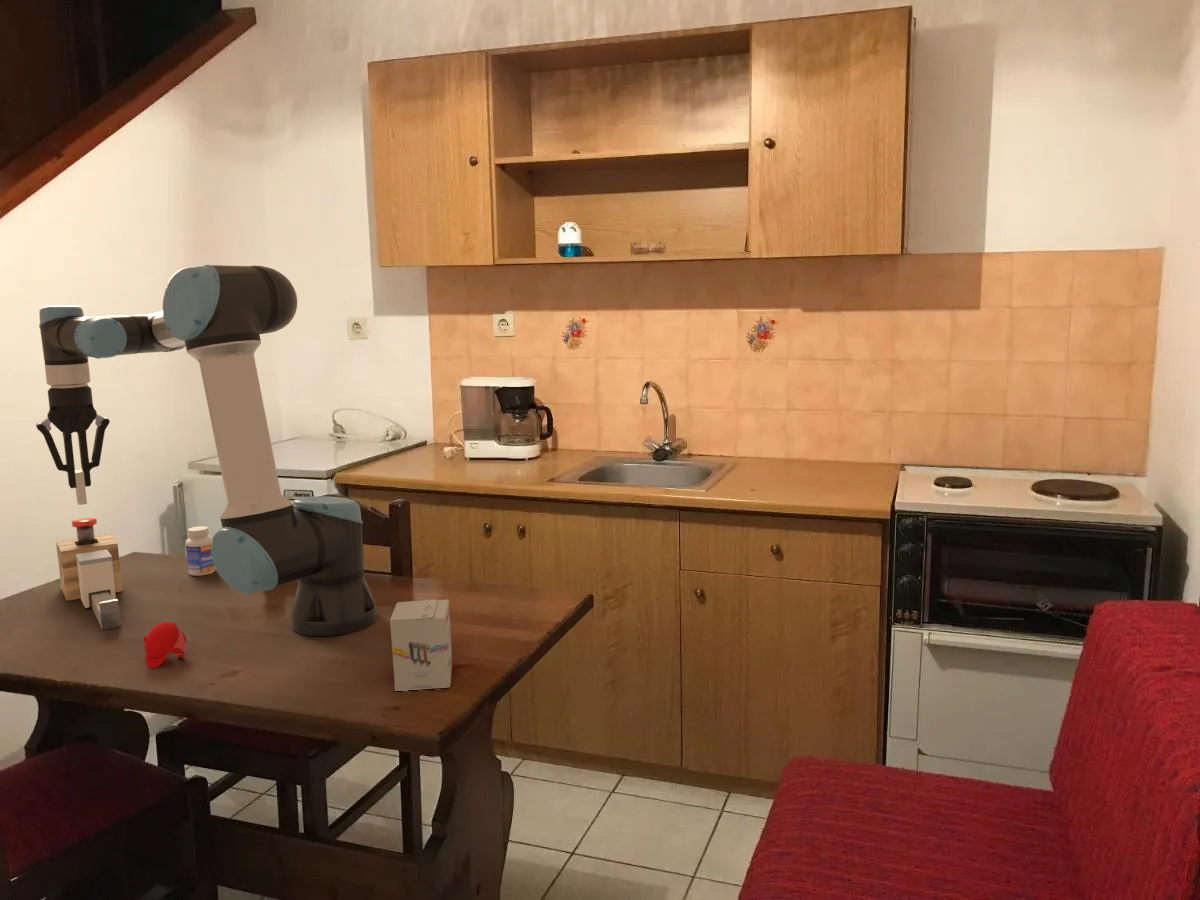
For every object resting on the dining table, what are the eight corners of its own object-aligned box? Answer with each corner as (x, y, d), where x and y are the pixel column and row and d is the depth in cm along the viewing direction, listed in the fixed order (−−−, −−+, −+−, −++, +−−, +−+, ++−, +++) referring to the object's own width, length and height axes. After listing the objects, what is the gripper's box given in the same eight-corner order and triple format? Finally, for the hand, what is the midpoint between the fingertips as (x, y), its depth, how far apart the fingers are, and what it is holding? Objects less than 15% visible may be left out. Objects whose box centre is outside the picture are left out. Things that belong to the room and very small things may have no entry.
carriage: (116, 602, 186) (111, 556, 185) (84, 608, 183) (79, 561, 182) (111, 594, 191) (107, 549, 190) (80, 599, 188) (75, 554, 187)
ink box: (399, 670, 155) (395, 599, 152) (453, 667, 155) (450, 597, 153) (392, 693, 146) (388, 618, 144) (449, 690, 147) (446, 616, 145)
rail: (120, 626, 175) (118, 600, 174) (102, 630, 173) (99, 603, 172) (103, 594, 193) (100, 570, 192) (86, 597, 191) (83, 573, 190)
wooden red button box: (122, 591, 195) (117, 543, 193) (66, 600, 189) (60, 551, 187) (115, 579, 202) (110, 533, 200) (61, 588, 197) (55, 541, 195)
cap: (156, 631, 164) (133, 624, 158) (187, 620, 163) (165, 613, 158) (160, 676, 160) (136, 671, 155) (192, 665, 160) (170, 660, 154)
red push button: (100, 544, 193) (97, 521, 192) (75, 548, 191) (73, 524, 190) (97, 539, 197) (94, 516, 196) (73, 543, 194) (70, 520, 194)
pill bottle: (205, 577, 203) (201, 532, 202) (182, 575, 204) (178, 531, 203) (220, 569, 209) (217, 525, 207) (198, 568, 210) (194, 524, 208)
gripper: (103, 381, 195) (115, 495, 199) (28, 386, 188) (42, 504, 192) (109, 384, 189) (121, 502, 193) (32, 389, 181) (46, 511, 186)
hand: (82, 503), depth 192 cm, fingers closed
